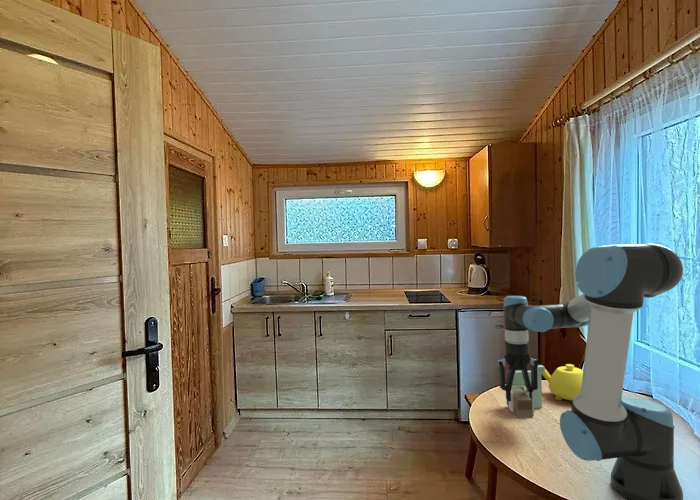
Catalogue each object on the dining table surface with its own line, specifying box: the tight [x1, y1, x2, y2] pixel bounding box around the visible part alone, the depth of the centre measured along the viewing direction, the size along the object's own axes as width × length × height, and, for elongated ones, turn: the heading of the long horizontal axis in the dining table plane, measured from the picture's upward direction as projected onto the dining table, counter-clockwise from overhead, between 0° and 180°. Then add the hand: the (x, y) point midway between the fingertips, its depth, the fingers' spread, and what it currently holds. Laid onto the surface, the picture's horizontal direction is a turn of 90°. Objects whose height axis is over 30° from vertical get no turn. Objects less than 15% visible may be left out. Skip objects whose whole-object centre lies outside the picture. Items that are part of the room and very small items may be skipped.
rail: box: [506, 387, 534, 419], centre depth 143 cm, size 16×4×6 cm, turn 177°
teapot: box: [541, 363, 583, 401], centre depth 168 cm, size 20×16×14 cm
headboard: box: [512, 364, 546, 417], centre depth 156 cm, size 9×13×16 cm
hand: (519, 409), depth 140 cm, fingers closed on rail, 4 cm apart
